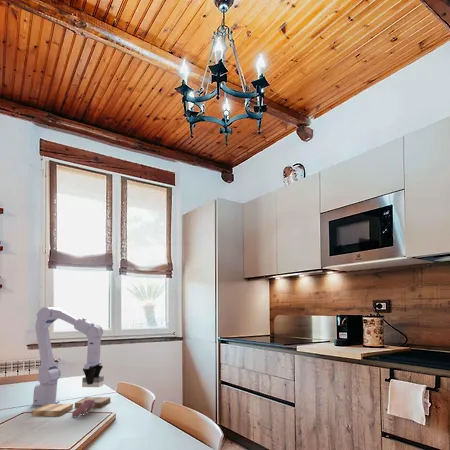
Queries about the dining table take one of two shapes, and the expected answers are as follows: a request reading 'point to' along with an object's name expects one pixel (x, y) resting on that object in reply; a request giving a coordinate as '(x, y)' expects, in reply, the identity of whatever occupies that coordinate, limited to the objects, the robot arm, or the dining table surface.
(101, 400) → the walnut stand
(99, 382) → the grey rectangular block
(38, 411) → the oak stand
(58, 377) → the robot arm
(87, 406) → the video game controller
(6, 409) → the dining table surface
